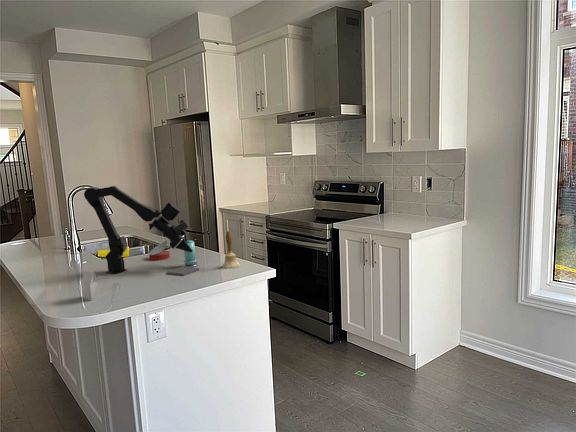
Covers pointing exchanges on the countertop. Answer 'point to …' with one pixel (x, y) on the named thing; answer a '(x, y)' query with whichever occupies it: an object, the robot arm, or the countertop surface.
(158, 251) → the canned food
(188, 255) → the teal cylinder
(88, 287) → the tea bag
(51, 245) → the countertop surface
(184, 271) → the mat
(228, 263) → the hand bell
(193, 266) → the metal domed disc
